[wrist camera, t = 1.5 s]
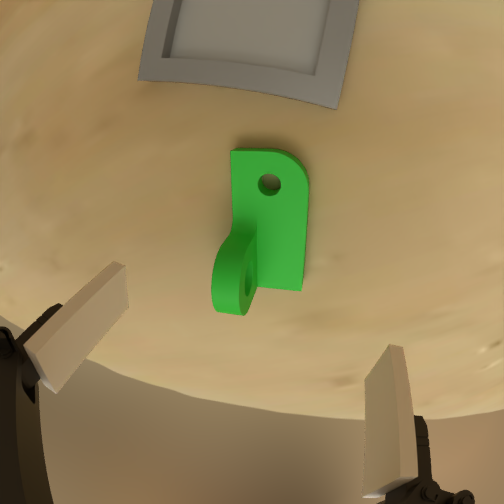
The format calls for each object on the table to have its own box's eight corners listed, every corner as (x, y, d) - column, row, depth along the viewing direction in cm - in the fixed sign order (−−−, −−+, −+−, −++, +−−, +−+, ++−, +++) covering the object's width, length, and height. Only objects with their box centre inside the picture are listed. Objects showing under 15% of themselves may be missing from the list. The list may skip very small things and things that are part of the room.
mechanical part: (303, 279, 28) (293, 337, 21) (241, 272, 29) (215, 326, 22) (310, 150, 22) (305, 169, 15) (237, 147, 23) (200, 166, 16)
